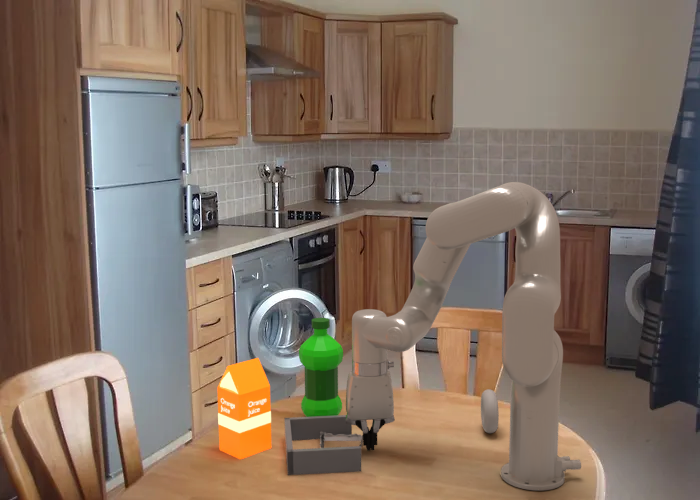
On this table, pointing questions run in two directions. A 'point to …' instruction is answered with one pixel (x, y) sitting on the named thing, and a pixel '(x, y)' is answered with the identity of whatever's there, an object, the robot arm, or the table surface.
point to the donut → (489, 411)
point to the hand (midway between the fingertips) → (370, 448)
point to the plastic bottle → (321, 371)
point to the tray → (319, 457)
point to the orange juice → (244, 410)
